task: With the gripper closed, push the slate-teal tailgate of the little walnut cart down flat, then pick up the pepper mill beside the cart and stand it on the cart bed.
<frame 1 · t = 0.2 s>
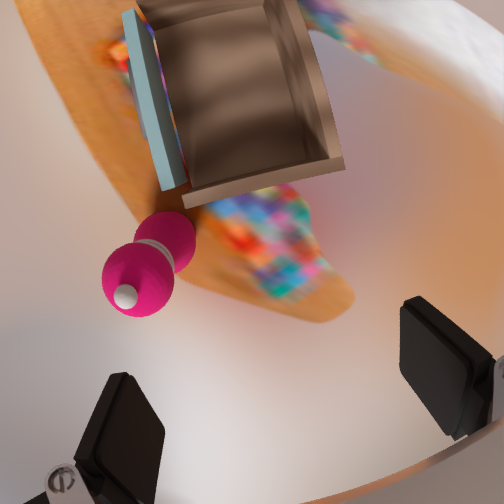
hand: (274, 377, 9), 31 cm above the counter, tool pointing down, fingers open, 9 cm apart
pepper mill: (171, 234, 39), on the counter
cart bed: (232, 95, 34), on the counter
tailgate: (150, 100, 26), point 9 cm above the counter, hinge at 0.0°
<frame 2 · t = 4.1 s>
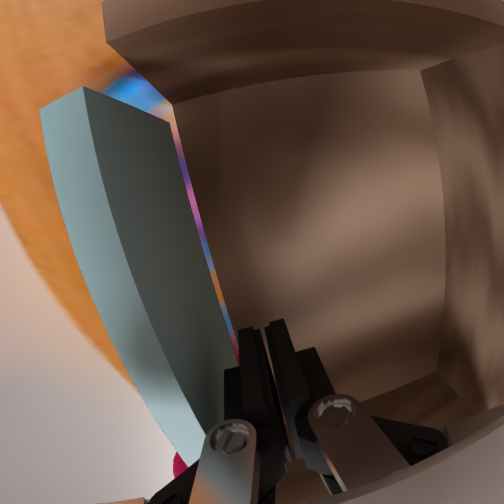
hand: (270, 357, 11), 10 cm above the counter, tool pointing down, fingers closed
cart bed: (330, 243, 20), on the counter
tailgate: (190, 356, 11), point 9 cm above the counter, hinge at 2.7°, touching gripper
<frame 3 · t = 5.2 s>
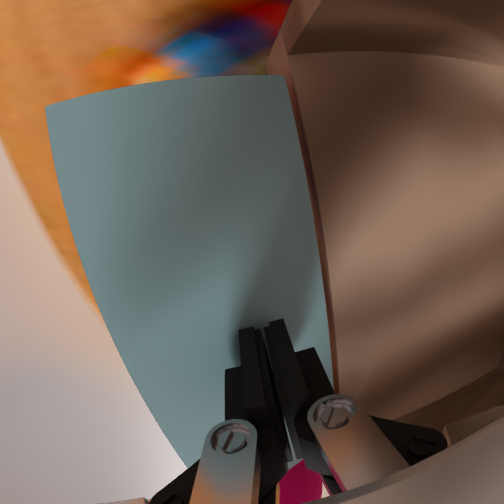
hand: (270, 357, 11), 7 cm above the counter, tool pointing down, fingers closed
pepper mill: (266, 440, 22), on the counter
cart bed: (410, 235, 17), on the counter
tailgate: (233, 339, 11), point 6 cm above the counter, hinge at 58.8°, touching gripper
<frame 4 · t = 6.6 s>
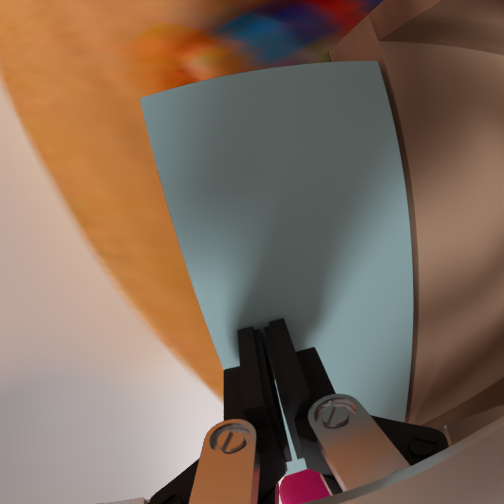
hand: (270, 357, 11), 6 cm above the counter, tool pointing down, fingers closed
pepper mill: (317, 442, 21), on the counter
cart bed: (462, 226, 16), on the counter
tailgate: (317, 316, 12), point 5 cm above the counter, hinge at 83.5°, touching gripper
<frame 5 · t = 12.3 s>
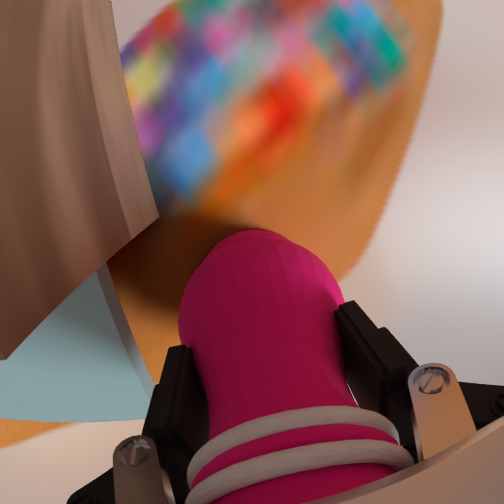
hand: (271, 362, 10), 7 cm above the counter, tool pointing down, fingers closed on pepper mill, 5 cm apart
pepper mill: (254, 281, 18), on the counter, touching gripper
tailgate: (10, 357, 13), point 5 cm above the counter, hinge at 83.6°
when the fingers open (14 cm above the counter, at t = 18.3 s): pepper mill drops 1 cm, resting on cart bed.
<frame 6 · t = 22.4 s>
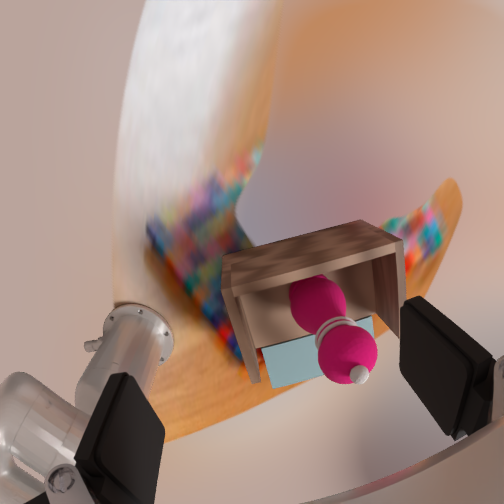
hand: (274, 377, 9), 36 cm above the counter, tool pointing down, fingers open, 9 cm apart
pepper mill: (309, 291, 43), point 5 cm above the counter, touching cart bed
cart bed: (303, 279, 48), on the counter
tailgate: (321, 351, 47), point 5 cm above the counter, hinge at 83.6°
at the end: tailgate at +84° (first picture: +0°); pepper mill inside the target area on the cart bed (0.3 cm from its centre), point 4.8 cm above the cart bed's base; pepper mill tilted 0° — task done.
